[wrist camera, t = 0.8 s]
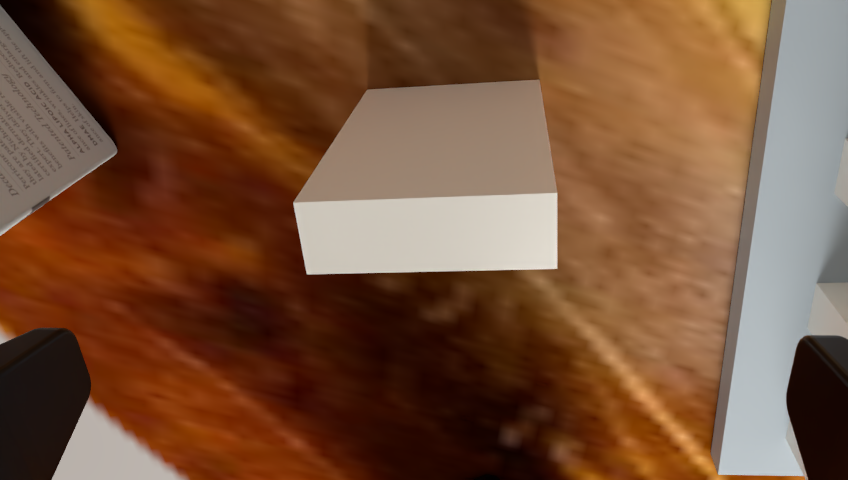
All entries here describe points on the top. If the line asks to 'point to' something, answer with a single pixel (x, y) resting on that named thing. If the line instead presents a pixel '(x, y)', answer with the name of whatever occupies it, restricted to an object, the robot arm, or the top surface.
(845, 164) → the domino
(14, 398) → the robot arm
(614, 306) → the top surface
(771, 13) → the domino board
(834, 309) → the domino
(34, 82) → the skincare box
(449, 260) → the end domino
